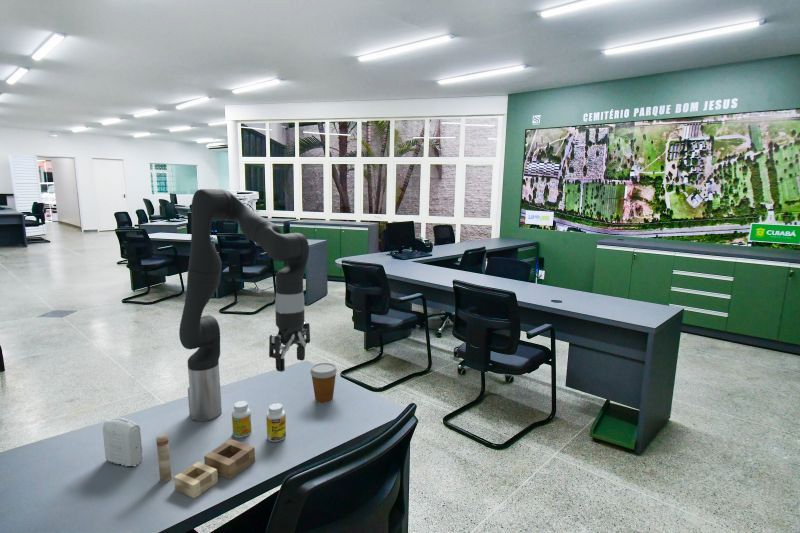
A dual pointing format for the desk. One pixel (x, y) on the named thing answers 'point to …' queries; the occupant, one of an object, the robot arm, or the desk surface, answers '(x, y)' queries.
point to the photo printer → (122, 441)
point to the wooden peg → (163, 457)
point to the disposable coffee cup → (323, 381)
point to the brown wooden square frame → (230, 458)
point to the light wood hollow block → (195, 479)
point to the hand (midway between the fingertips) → (290, 365)
